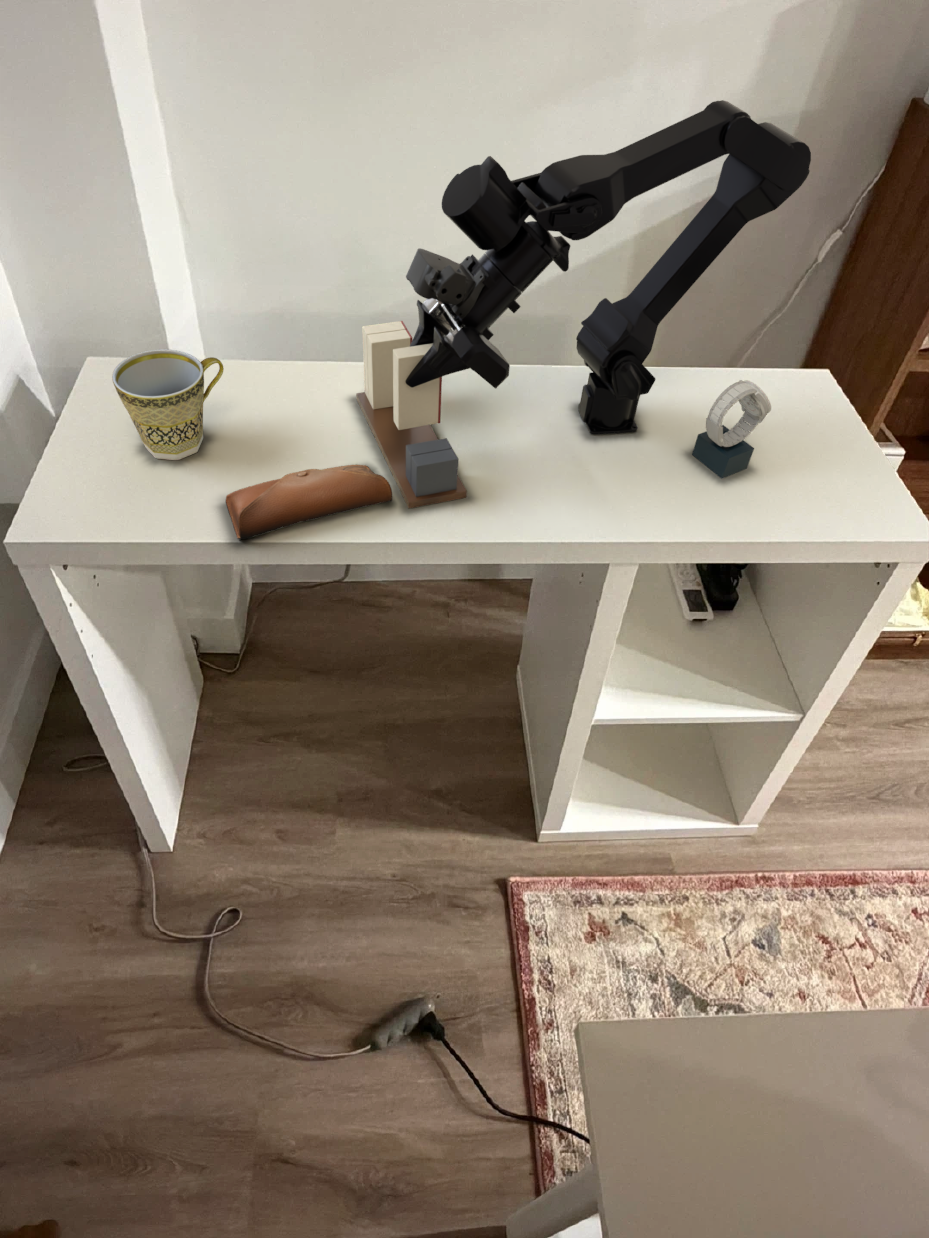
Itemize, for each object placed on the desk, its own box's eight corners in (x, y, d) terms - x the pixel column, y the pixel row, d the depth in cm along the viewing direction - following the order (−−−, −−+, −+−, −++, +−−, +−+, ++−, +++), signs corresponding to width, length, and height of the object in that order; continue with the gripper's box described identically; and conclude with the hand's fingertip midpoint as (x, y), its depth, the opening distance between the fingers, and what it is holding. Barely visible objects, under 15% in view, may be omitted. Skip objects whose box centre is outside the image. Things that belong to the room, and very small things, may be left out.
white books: (402, 386, 115) (402, 320, 108) (411, 403, 112) (412, 337, 105) (364, 392, 113) (362, 326, 106) (373, 410, 111) (371, 343, 104)
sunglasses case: (367, 460, 104) (376, 437, 98) (386, 513, 104) (396, 494, 97) (219, 496, 99) (219, 474, 92) (238, 553, 98) (240, 535, 91)
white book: (434, 413, 103) (437, 342, 96) (440, 423, 102) (443, 351, 95) (393, 420, 102) (392, 349, 95) (398, 430, 101) (398, 358, 94)
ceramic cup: (157, 480, 101) (138, 408, 93) (117, 439, 105) (96, 366, 98) (253, 440, 107) (242, 369, 99) (211, 402, 111) (198, 332, 104)
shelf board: (408, 391, 116) (408, 385, 115) (466, 497, 102) (467, 491, 101) (356, 399, 114) (356, 393, 113) (408, 508, 100) (408, 502, 99)
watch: (757, 464, 109) (786, 389, 101) (711, 483, 106) (737, 407, 98) (726, 440, 112) (752, 365, 104) (681, 458, 109) (704, 382, 101)
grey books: (445, 468, 104) (446, 437, 100) (456, 489, 101) (458, 458, 98) (405, 475, 102) (405, 444, 99) (416, 497, 100) (416, 466, 96)
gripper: (425, 187, 92) (331, 298, 97) (490, 268, 80) (379, 388, 86) (488, 252, 100) (398, 350, 105) (555, 333, 88) (450, 440, 94)
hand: (404, 379), depth 97 cm, fingers closed on white book, 2 cm apart
